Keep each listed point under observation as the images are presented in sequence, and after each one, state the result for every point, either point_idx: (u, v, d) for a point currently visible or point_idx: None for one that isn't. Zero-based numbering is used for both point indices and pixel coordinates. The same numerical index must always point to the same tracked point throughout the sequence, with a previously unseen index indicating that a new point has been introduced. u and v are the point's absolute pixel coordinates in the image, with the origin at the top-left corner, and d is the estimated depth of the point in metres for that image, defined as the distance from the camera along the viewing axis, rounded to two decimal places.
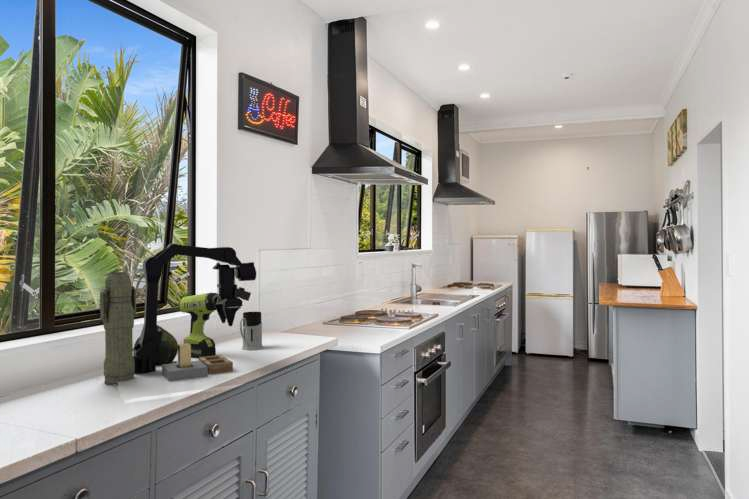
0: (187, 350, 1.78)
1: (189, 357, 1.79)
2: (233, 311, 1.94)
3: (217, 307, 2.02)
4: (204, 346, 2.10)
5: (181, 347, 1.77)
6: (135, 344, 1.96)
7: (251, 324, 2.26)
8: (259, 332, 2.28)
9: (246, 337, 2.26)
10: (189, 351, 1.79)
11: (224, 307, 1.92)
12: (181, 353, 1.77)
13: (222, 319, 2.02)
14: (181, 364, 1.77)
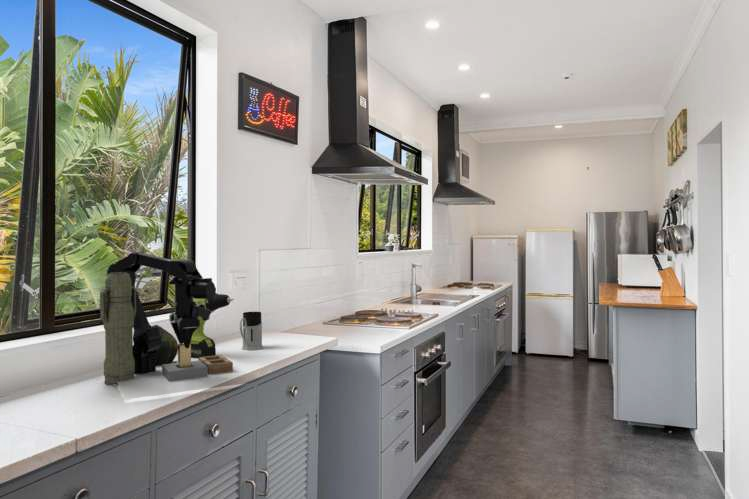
0: (187, 350, 1.78)
1: (189, 357, 1.79)
2: (190, 332, 1.75)
3: (174, 326, 1.83)
4: (204, 346, 2.10)
5: (181, 347, 1.77)
6: None
7: (251, 324, 2.26)
8: (259, 332, 2.28)
9: (246, 337, 2.26)
10: (189, 351, 1.79)
11: None
12: (181, 353, 1.77)
13: (179, 339, 1.83)
14: (181, 364, 1.77)
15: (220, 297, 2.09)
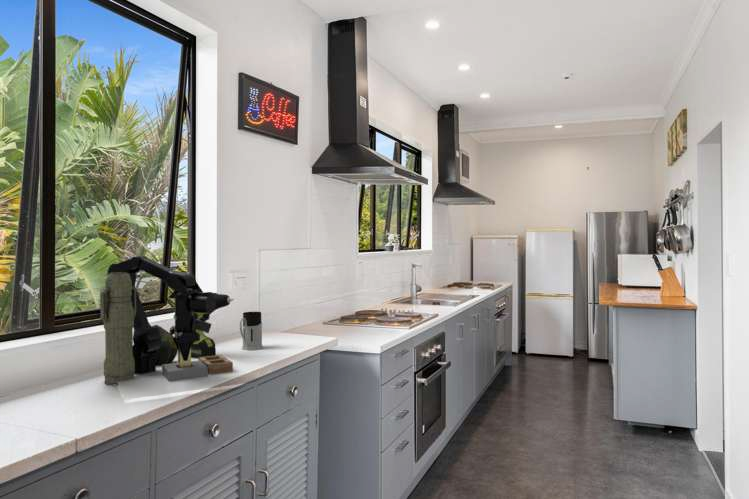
0: None
1: (189, 357, 1.79)
2: (188, 344, 1.77)
3: (176, 341, 1.80)
4: (204, 346, 2.10)
5: None
6: None
7: (251, 324, 2.26)
8: (259, 332, 2.28)
9: (246, 337, 2.26)
10: None
11: (178, 340, 1.75)
12: None
13: None
14: (181, 364, 1.77)
15: (220, 297, 2.09)
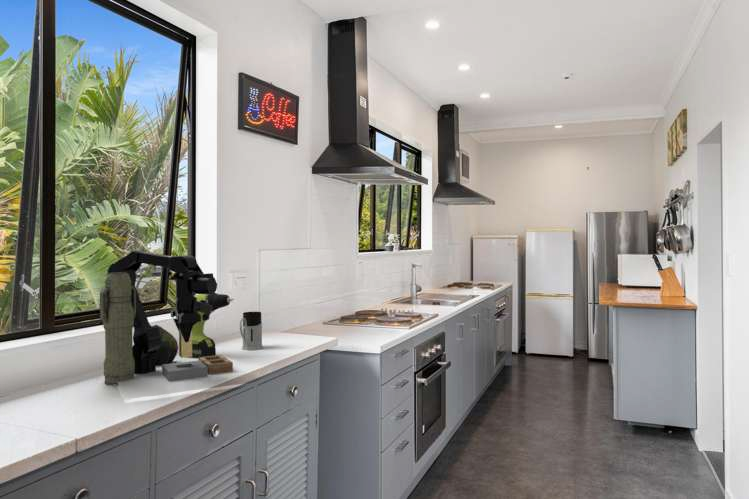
0: None
1: (190, 339, 1.79)
2: (189, 326, 1.77)
3: (177, 323, 1.80)
4: (204, 346, 2.10)
5: None
6: None
7: (251, 324, 2.26)
8: (259, 332, 2.28)
9: (246, 337, 2.26)
10: None
11: None
12: None
13: None
14: (182, 345, 1.78)
15: (220, 297, 2.09)
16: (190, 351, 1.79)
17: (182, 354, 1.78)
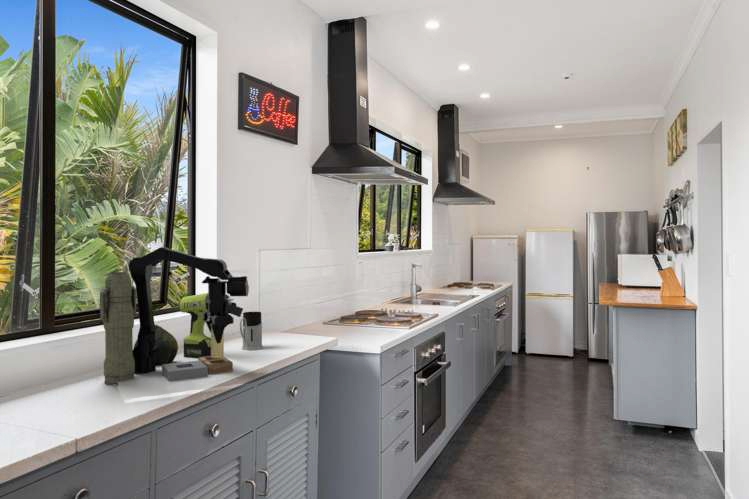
0: None
1: (222, 340, 1.85)
2: (221, 327, 1.83)
3: (209, 324, 1.86)
4: (204, 346, 2.10)
5: None
6: (135, 344, 1.96)
7: (251, 324, 2.26)
8: (259, 332, 2.28)
9: (246, 337, 2.26)
10: None
11: (212, 323, 1.82)
12: None
13: None
14: (214, 346, 1.84)
15: None
16: (222, 352, 1.85)
17: (214, 355, 1.84)
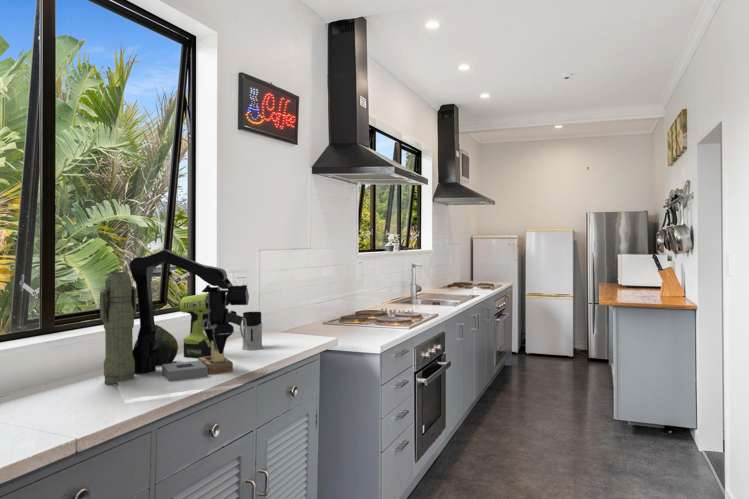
0: None
1: (222, 353, 1.85)
2: (224, 338, 1.81)
3: (207, 332, 1.89)
4: (204, 346, 2.10)
5: (215, 343, 1.84)
6: (135, 344, 1.96)
7: (251, 324, 2.26)
8: (259, 332, 2.28)
9: (246, 337, 2.26)
10: None
11: (214, 333, 1.79)
12: (215, 349, 1.84)
13: None
14: (215, 360, 1.84)
15: None
16: None
17: None
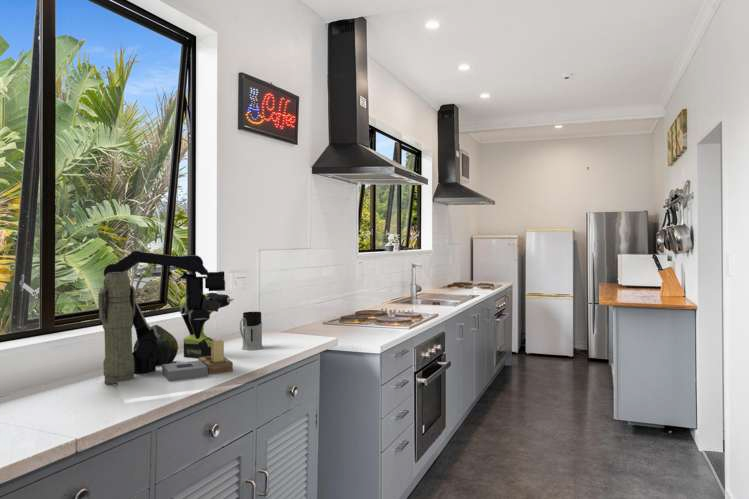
0: (221, 347, 1.85)
1: (222, 353, 1.85)
2: (200, 323, 1.84)
3: (185, 318, 1.92)
4: (204, 346, 2.10)
5: (215, 343, 1.84)
6: (135, 344, 1.96)
7: (251, 324, 2.26)
8: (259, 332, 2.28)
9: (246, 337, 2.26)
10: (222, 347, 1.85)
11: (190, 319, 1.82)
12: (215, 349, 1.84)
13: (190, 331, 1.92)
14: (215, 360, 1.84)
15: (220, 297, 2.09)
16: None
17: None
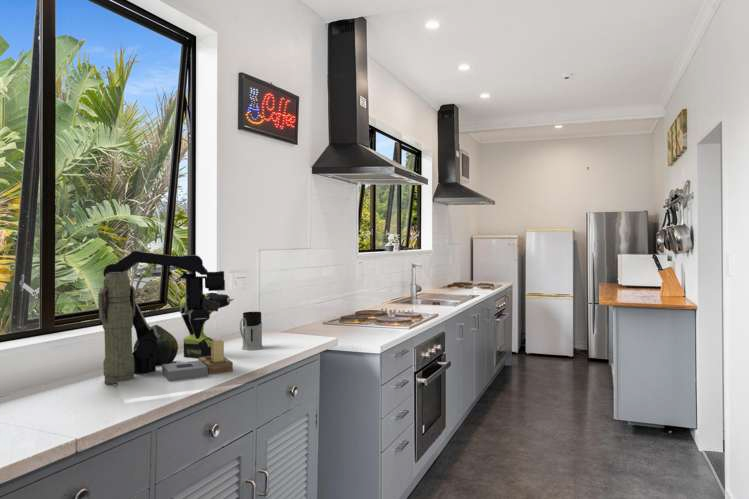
0: (221, 347, 1.85)
1: (222, 353, 1.85)
2: (200, 323, 1.84)
3: (185, 318, 1.92)
4: (204, 346, 2.10)
5: (215, 343, 1.84)
6: (135, 344, 1.96)
7: (251, 324, 2.26)
8: (259, 332, 2.28)
9: (246, 337, 2.26)
10: (222, 347, 1.85)
11: None
12: (215, 349, 1.84)
13: (190, 331, 1.92)
14: (215, 360, 1.84)
15: (220, 297, 2.09)
16: None
17: None
